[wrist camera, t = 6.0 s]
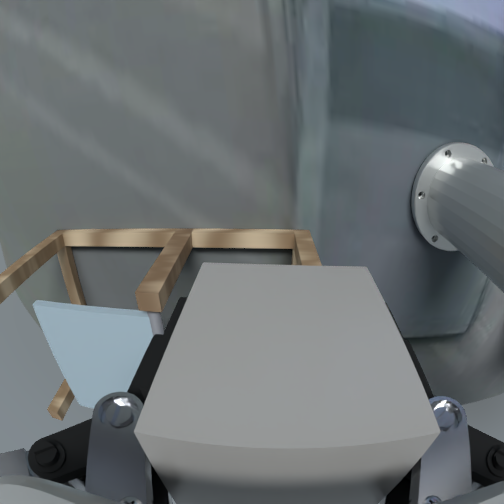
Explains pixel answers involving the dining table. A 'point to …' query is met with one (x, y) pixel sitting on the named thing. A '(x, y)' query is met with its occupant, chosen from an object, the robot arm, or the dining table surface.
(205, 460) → the light grey block
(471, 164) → the robot arm
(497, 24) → the dining table surface
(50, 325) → the trapdoor
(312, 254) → the frame
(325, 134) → the dining table surface
